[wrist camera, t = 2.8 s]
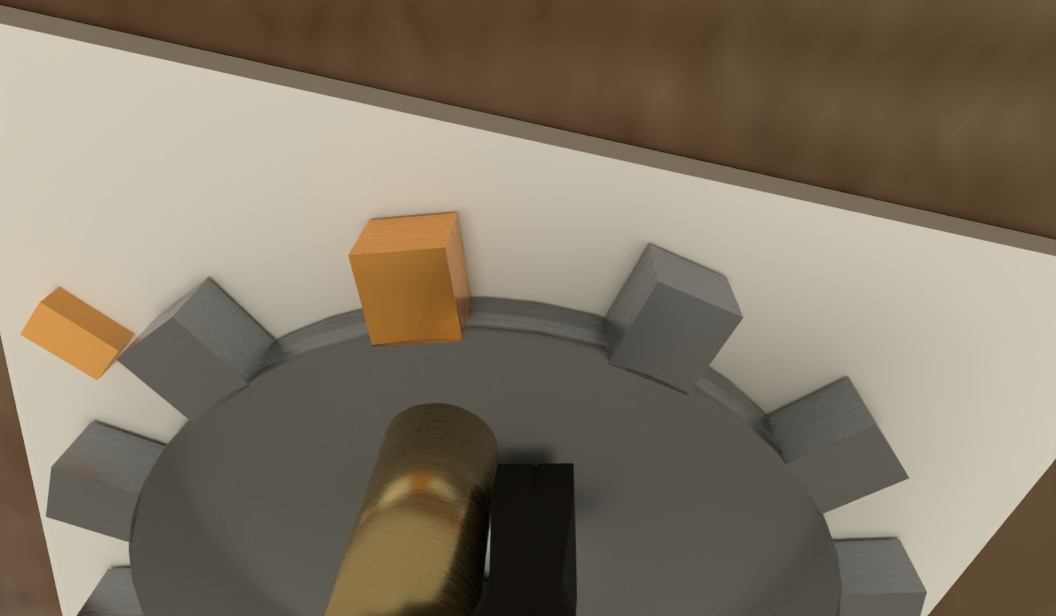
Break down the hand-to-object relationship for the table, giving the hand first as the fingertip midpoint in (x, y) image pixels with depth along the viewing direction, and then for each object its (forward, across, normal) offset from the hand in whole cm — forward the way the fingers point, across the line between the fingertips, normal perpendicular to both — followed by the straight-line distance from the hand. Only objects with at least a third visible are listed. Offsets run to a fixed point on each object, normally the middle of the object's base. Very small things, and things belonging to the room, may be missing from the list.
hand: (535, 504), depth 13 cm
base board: (+3, +2, +5) cm, 6 cm away
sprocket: (+2, +2, +5) cm, 6 cm away
